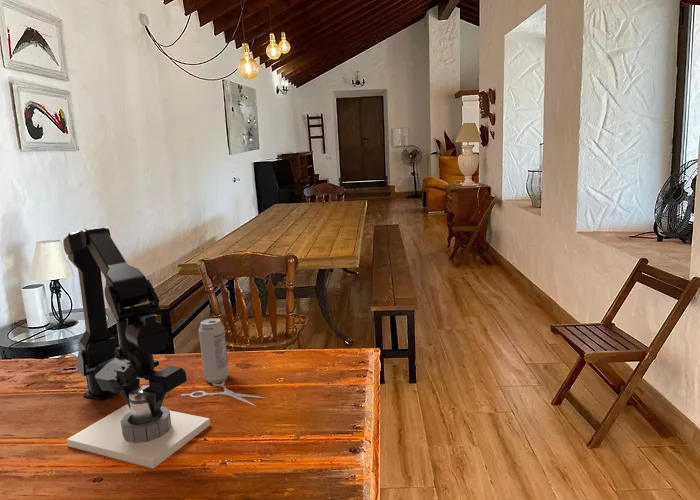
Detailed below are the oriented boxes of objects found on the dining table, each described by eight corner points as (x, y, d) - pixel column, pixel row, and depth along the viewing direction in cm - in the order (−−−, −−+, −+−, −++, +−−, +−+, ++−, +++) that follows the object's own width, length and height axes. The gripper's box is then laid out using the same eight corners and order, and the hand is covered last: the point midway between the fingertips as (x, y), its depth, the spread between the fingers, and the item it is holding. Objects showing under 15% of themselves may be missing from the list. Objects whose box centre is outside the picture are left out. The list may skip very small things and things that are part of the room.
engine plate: (68, 446, 105) (64, 425, 104) (130, 408, 119) (128, 389, 119) (153, 468, 96) (150, 445, 95) (210, 425, 110) (207, 404, 110)
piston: (126, 427, 105) (122, 394, 104) (146, 415, 110) (142, 383, 109) (146, 432, 103) (142, 398, 102) (166, 419, 108) (162, 386, 106)
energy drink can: (214, 372, 137) (207, 316, 134) (234, 375, 134) (228, 318, 131) (199, 382, 131) (192, 324, 128) (220, 385, 129) (213, 326, 126)
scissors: (212, 377, 133) (277, 390, 124) (212, 380, 134) (277, 393, 124) (180, 395, 124) (247, 411, 115) (180, 398, 125) (247, 414, 115)
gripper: (64, 349, 100) (77, 426, 103) (139, 361, 92) (150, 444, 95) (112, 329, 110) (122, 400, 113) (184, 339, 102) (192, 414, 105)
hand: (145, 414), depth 106 cm, fingers closed on piston, 5 cm apart
